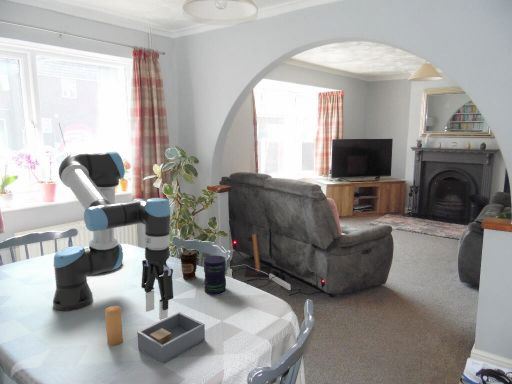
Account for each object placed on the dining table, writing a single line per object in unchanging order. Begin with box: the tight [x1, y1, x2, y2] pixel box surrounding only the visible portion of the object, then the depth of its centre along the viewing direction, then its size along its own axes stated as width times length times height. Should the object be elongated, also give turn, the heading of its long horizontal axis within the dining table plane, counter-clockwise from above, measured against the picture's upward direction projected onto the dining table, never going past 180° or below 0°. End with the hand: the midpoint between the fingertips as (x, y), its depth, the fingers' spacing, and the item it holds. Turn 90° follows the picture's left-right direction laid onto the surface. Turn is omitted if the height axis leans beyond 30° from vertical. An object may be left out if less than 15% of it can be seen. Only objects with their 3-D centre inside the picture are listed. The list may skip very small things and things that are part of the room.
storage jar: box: [203, 254, 227, 296], centre depth 169 cm, size 10×10×15 cm
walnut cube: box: [150, 328, 172, 345], centre depth 124 cm, size 5×5×5 cm
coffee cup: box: [179, 250, 198, 281], centre depth 184 cm, size 9×8×13 cm
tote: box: [136, 311, 206, 365], centre depth 127 cm, size 18×14×6 cm
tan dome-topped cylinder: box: [104, 305, 124, 347], centre depth 129 cm, size 5×5×12 cm
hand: (156, 314), depth 123 cm, fingers open, 7 cm apart
